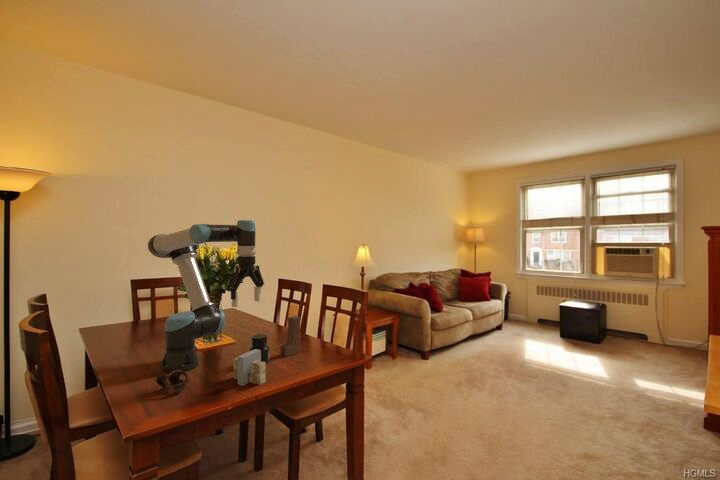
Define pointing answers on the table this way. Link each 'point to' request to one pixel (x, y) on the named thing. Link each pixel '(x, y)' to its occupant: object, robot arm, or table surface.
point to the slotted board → (253, 372)
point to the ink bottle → (261, 346)
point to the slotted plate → (246, 365)
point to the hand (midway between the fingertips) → (246, 304)
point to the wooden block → (292, 337)
